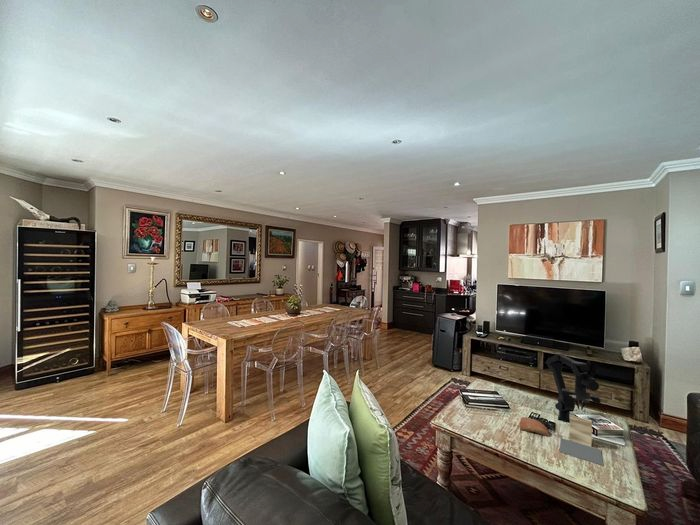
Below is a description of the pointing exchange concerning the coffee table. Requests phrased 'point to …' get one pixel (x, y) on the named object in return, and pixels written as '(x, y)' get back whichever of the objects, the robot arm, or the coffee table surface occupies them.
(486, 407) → the coffee table surface
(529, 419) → the ceramic shard
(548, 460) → the coffee table surface
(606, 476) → the coffee table surface
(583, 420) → the oak slab
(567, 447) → the mat
